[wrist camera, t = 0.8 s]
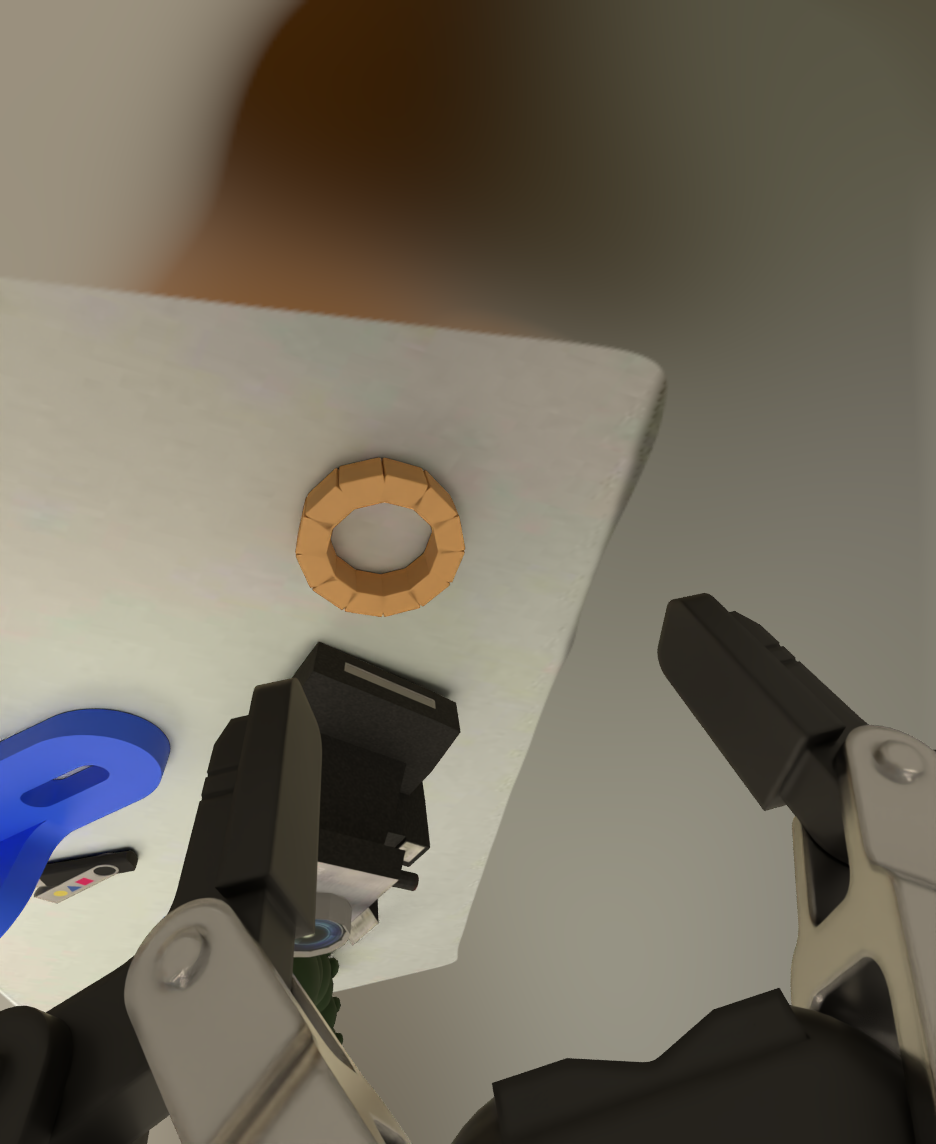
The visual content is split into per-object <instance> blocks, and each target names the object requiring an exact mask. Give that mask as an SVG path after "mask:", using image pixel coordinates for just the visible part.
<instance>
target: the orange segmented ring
mask: <svg viewBox="0 0 936 1144" xmlns="http://www.w3.org/2000/svg"><path fill="white" fill-rule="evenodd" d="M383 502H385V503H390V504H394V505H398V506H402V507H406V508H410V509H413V510H414V511H415V512H417V513H418V514H419V515H420V516H421V517H422V518H423V519H424V520H425V521H426V522H427V523H428V524H429V525H430V526H431V529H432V533H431V536H430V539H429V541H428V544H427V547H426V549H425V552H424V553H423V554H422V555H421V556H420V557H418V558H417V559H416V560H415V561H414V562H412V563H411V564H410V565H409V566H408V567H406V568H404V569H400V570H396V571H392V572H388V573H384V574H376V573H371V572H365V571H360V570H355V569H354V568H353V567H351V566H350V565H349V564H347V563H346V562H345V561H343V560H342V559H341V558H339V557H338V556H337V555H336V553H335V550H334V548H333V545H332V543H331V540H330V538H331V535H332V531H333V528H334V527H335V526H336V525H338V524H339V523H340V522H341V521H342V520H343V519H344V518H345V517H346V516H348V515H349V514H350V513H351V512H352V511H353V510H354V509H358V508H362V507H366V506H370V505H375V504H379V503H383ZM464 550H465V544H464V539H463V534H462V528H461V523H460V517H459V515H458V512H457V510H456V507H455V505H454V503H453V500H452V498H451V497H450V495H449V494H448V493H447V492H446V491H445V490H444V488H443V487H442V486H441V485H440V484H439V483H438V482H437V481H436V480H435V479H434V478H433V477H432V476H431V475H430V474H429V473H428V472H427V471H426V470H424V471H423V469H422V468H420V467H416V466H413V465H409V464H406V463H402V462H399V461H395V460H391V459H388V458H383V460H382V462H381V459H380V458H374V459H370V460H365V461H361V462H357V463H352V464H348V465H343V466H340V467H339V470H338V469H337V468H335V469H334V470H333V471H332V472H331V473H330V474H329V475H328V476H327V477H326V478H325V479H324V480H323V481H321V482H320V483H319V484H318V485H317V486H316V487H315V488H314V489H313V490H312V491H311V492H310V493H309V494H308V497H306V499H305V504H304V508H303V513H302V517H301V522H300V526H299V531H298V537H297V544H296V551H295V553H296V558H297V560H298V562H299V564H300V567H301V569H302V571H303V573H304V575H305V578H306V580H307V582H308V584H309V587H310V588H312V587H313V591H315V592H316V593H318V594H319V595H320V596H322V597H323V598H325V599H326V600H328V601H329V602H331V603H332V604H334V605H335V606H337V607H338V608H340V609H341V610H343V609H344V608H345V611H346V612H352V613H358V614H365V615H372V616H378V617H382V615H383V614H384V616H385V617H386V616H390V615H394V614H398V613H402V612H406V611H410V610H414V609H418V608H420V605H421V606H424V605H425V604H427V603H428V602H429V601H430V600H432V599H433V598H434V597H436V596H437V595H438V594H439V593H441V592H442V591H443V590H444V589H446V588H447V587H448V586H449V585H450V583H449V582H452V581H453V579H454V576H455V574H456V572H457V569H458V567H459V565H460V562H461V560H462V558H463V555H464V553H465V552H464Z"/></svg>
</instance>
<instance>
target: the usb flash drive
mask: <svg viewBox="0 0 936 1144" xmlns="http://www.w3.org/2000/svg"><path fill="white" fill-rule="evenodd" d="M137 862H138V858H137V856H136V854H135V853H134V852H133V851H124V852H118V853H104V854H101V855H99V856H94V857H88V858H82V859H76V860H70V861H64V862H58V863H52V864H46V866H45V868H44V871H43V873H42V875H41V877H40V879H39V881H38V883H37V885H36V887H38V889H37V890H36V892H35V894H34V897H36V898H39V899H43V900H46V901H50V902H54V903H59V902H61V901H63V900H65V899H67V898H69V897H71V896H73V895H75V894H77V893H79V892H81V891H83V890H85V889H87V888H89V887H91V886H93V885H95V884H97V883H99V882H101V881H103V880H105V879H107V878H109V877H111V876H113V875H115V874H118V873H124V872H129V871H134V870H135V868H136V865H137Z"/></svg>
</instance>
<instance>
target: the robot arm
mask: <svg viewBox="0 0 936 1144" xmlns="http://www.w3.org/2000/svg"><path fill="white" fill-rule="evenodd" d="M657 653H658V660H659V664H660V667H661V669H662V671H663V673H664V675H665V676H666V678H667V679H668V681H669V682H670V683H671V685H672V686H673V687H674V689H675V690H676V691H677V693H678V694H679V696H680V697H681V698H682V699H683V701H684V702H685V704H686V705H687V706H688V708H689V709H690V711H691V712H692V713H693V715H694V716H695V717H696V719H697V720H698V721H699V723H700V724H701V726H702V727H703V728H704V730H705V731H706V732H707V734H708V735H709V736H710V738H711V739H712V741H713V742H714V743H715V745H716V746H717V747H718V749H719V750H720V751H721V753H722V754H723V756H724V757H725V758H726V759H727V761H728V762H729V764H730V765H731V766H732V768H733V769H734V770H735V772H736V773H737V775H738V776H739V777H740V779H741V780H742V781H743V782H744V784H745V785H746V787H747V788H748V789H749V791H750V792H751V794H752V795H753V796H754V798H755V799H756V800H757V802H758V803H759V805H760V806H761V807H762V809H763V810H764V811H766V810H770V809H773V808H777V807H781V806H784V805H787V806H788V807H789V808H790V810H791V811H792V812H793V813H794V815H795V817H794V819H793V822H792V836H793V850H794V865H795V879H796V894H797V909H798V925H799V926H798V927H799V928H798V939H797V944H796V947H795V950H794V954H793V959H792V966H791V1004H792V1005H789V1003H788V1002H787V1000H786V998H785V997H784V995H783V993H782V991H781V990H780V988H777V989H774V990H771V991H768V992H765V993H762V994H759V995H756V996H753V997H750V998H747V999H744V1000H741V1001H738V1002H735V1003H732V1004H729V1005H726V1006H723V1007H720V1008H717V1009H714V1010H712V1011H711V1012H710V1013H709V1014H708V1015H707V1016H706V1017H704V1018H703V1019H702V1020H701V1021H700V1022H699V1023H698V1024H696V1025H695V1026H694V1027H693V1028H692V1029H691V1030H689V1031H688V1032H687V1033H686V1034H685V1035H684V1036H683V1037H681V1038H680V1039H679V1040H678V1041H677V1042H676V1043H675V1044H673V1045H672V1046H671V1047H670V1048H669V1049H668V1050H667V1051H665V1052H664V1053H663V1054H662V1055H661V1056H660V1057H658V1058H657V1059H656V1060H653V1061H650V1062H626V1061H608V1060H590V1059H572V1058H571V1059H570V1058H566V1059H563V1060H560V1061H557V1062H554V1063H552V1064H548V1065H545V1066H542V1067H539V1068H536V1069H533V1070H530V1071H527V1072H524V1073H521V1074H518V1075H515V1076H512V1077H509V1078H506V1079H503V1080H500V1081H497V1082H494V1083H492V1085H493V1092H494V1098H492V1099H491V1100H490V1101H489V1102H487V1104H485V1105H484V1106H483V1107H482V1108H480V1109H479V1110H478V1111H477V1112H476V1114H474V1115H473V1116H472V1118H471V1119H470V1120H469V1121H468V1122H467V1123H466V1124H465V1125H464V1127H463V1128H462V1129H461V1131H460V1132H459V1133H458V1135H457V1136H456V1138H455V1139H454V1140H453V1142H452V1143H451V1144H936V750H932V749H931V748H930V747H929V746H927V745H926V744H924V743H923V742H921V741H920V740H918V739H916V738H914V737H913V736H910V735H909V734H906V733H904V732H902V731H899V730H896V729H893V728H889V727H884V726H879V725H869V724H867V723H866V722H865V721H864V720H862V719H861V718H860V717H859V716H858V715H857V714H855V712H854V711H852V710H851V709H850V708H849V707H848V706H847V705H846V704H845V703H844V702H843V701H842V700H841V699H840V698H838V697H837V696H836V695H835V694H834V693H833V692H832V691H831V690H830V689H829V688H828V687H827V686H826V685H824V684H823V683H822V682H821V681H820V680H819V679H818V678H817V677H816V676H815V675H814V674H813V673H811V672H810V671H809V670H808V669H807V668H806V667H805V666H804V665H803V664H802V663H801V662H797V661H796V660H795V657H794V656H793V655H792V654H791V653H790V652H789V651H788V650H787V649H786V648H785V647H784V646H782V647H781V646H780V645H779V642H778V641H777V640H776V639H775V638H774V637H773V636H772V635H771V634H770V633H768V632H767V631H766V630H765V629H764V628H763V627H762V626H761V625H760V624H758V623H756V622H754V621H752V620H751V619H749V618H747V617H745V616H743V615H741V614H739V613H737V612H736V611H733V612H728V611H727V610H726V609H725V608H724V607H723V606H722V605H721V604H720V603H719V602H718V601H717V600H716V599H715V598H714V597H713V596H711V595H710V594H707V593H702V594H697V595H692V596H687V597H683V598H678V599H673V600H671V601H670V602H669V603H668V605H667V609H666V613H665V618H664V622H663V626H662V631H661V635H660V640H659V644H658V652H657ZM321 767H322V743H321V735H320V731H319V727H318V724H317V721H316V719H315V716H314V714H313V712H312V709H311V707H310V705H309V702H308V700H307V698H306V695H305V693H304V691H303V688H302V686H301V684H300V682H299V680H298V679H297V678H291V679H286V680H281V681H277V682H272V683H267V684H262V685H257V686H256V687H255V689H254V691H253V696H252V701H251V706H250V711H249V715H247V716H243V717H238V718H233V719H231V720H230V722H229V723H228V725H227V726H226V728H225V729H224V731H223V732H222V734H221V735H220V737H219V738H218V740H217V741H216V743H215V744H214V747H213V751H212V755H211V759H210V763H209V767H208V771H207V773H208V777H206V778H205V782H204V786H203V790H202V794H201V796H202V801H200V802H199V806H198V810H197V814H196V818H195V822H194V826H193V830H192V833H191V837H190V841H189V845H188V849H187V853H186V857H185V861H184V865H183V869H182V873H181V877H180V881H179V885H178V888H177V892H176V895H175V898H174V901H173V904H172V906H171V908H170V910H169V912H168V914H167V916H165V917H164V918H163V919H162V920H161V921H160V922H159V923H158V924H157V925H156V926H155V927H154V928H153V929H152V930H151V932H150V933H149V934H148V935H147V936H146V938H145V939H144V941H143V942H142V944H141V945H140V947H139V948H138V950H137V952H136V954H135V955H134V956H133V957H132V958H131V959H129V960H128V961H127V962H126V963H124V964H123V965H122V966H120V967H119V968H117V969H116V970H114V971H113V972H111V973H109V974H108V975H106V976H104V977H103V978H101V979H100V980H98V981H96V982H95V983H93V984H91V985H90V986H88V987H87V988H85V989H83V990H82V991H80V992H78V993H77V994H75V995H73V996H72V997H70V998H69V999H67V1000H65V1001H64V1002H62V1003H60V1004H59V1005H57V1006H56V1007H54V1008H52V1009H51V1010H49V1011H47V1012H46V1013H45V1012H43V1011H41V1010H38V1009H36V1008H33V1007H29V1006H16V1007H12V1008H8V1009H5V1010H2V1011H0V1144H147V1140H148V1135H149V1130H150V1129H151V1128H153V1127H154V1126H155V1125H157V1124H158V1123H159V1122H161V1121H162V1120H163V1119H165V1118H166V1117H167V1116H168V1115H170V1117H171V1119H172V1122H173V1124H174V1126H175V1129H176V1131H177V1134H178V1136H179V1139H180V1141H181V1143H182V1144H412V1143H411V1141H410V1140H409V1138H408V1137H407V1135H406V1134H405V1132H404V1131H403V1129H402V1128H401V1127H400V1125H399V1124H398V1122H397V1121H396V1119H395V1118H394V1116H393V1115H392V1113H391V1112H390V1111H389V1109H388V1108H387V1106H386V1105H385V1104H384V1102H383V1101H382V1100H381V1098H380V1097H379V1096H378V1094H377V1093H376V1092H375V1090H374V1089H373V1088H372V1086H371V1085H370V1084H369V1083H368V1082H367V1080H366V1079H365V1078H364V1077H363V1075H362V1074H361V1072H360V1071H359V1069H358V1068H357V1067H356V1065H355V1064H354V1062H353V1061H352V1060H351V1058H350V1056H349V1055H348V1053H347V1052H346V1051H345V1049H344V1048H343V1046H342V1045H341V1043H340V1042H339V1040H338V1039H337V1037H336V1036H335V1034H334V1033H333V1031H332V1030H331V1028H330V1027H329V1025H328V1024H327V1023H326V1021H325V1020H324V1018H323V1017H322V1015H321V1014H320V1012H319V1011H318V1009H317V1008H316V1006H315V1005H314V1003H313V1002H312V1000H311V999H310V998H309V996H308V995H307V993H306V992H305V990H304V989H303V987H302V986H301V984H300V983H299V981H298V980H297V978H296V977H295V975H294V974H293V957H294V943H295V939H297V938H300V937H304V936H308V935H311V934H315V914H316V890H317V865H318V841H319V816H320V792H321Z"/></svg>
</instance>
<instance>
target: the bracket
mask: <svg viewBox="0 0 936 1144" xmlns="http://www.w3.org/2000/svg"><path fill="white" fill-rule="evenodd" d="M169 754H170V744H169V741H168V739H167V737H166V736H165V734H164V733H163V732H162V731H161V730H160V729H159V728H158V727H156V726H155V725H153V724H152V723H150V722H149V721H147V720H145V719H142V718H140V717H138V716H135V715H132V714H128V713H124V712H120V711H114V710H105V709H84V710H76V711H70V712H66V713H62V714H59V715H56V716H54V717H51V718H49V719H47V720H45V721H43V722H41V723H39V724H37V725H35V726H33V727H31V728H28V729H26V730H24V731H22V732H20V733H18V734H16V735H14V736H12V737H10V738H8V739H6V740H3V741H1V742H0V938H1V937H2V936H3V935H4V933H5V932H6V931H7V930H8V929H9V928H10V926H11V925H12V924H13V923H14V921H15V920H16V919H17V917H18V916H19V914H20V913H21V912H22V910H23V909H24V907H25V905H26V904H27V902H28V901H29V899H30V897H31V895H32V893H33V891H34V889H35V887H36V885H37V883H38V881H39V879H40V877H41V875H42V873H43V871H44V868H45V866H46V864H47V862H48V860H49V858H50V856H51V854H52V852H53V850H54V849H55V848H56V846H57V845H58V844H59V843H60V841H61V840H62V839H63V838H64V837H65V836H67V835H68V834H69V833H70V832H72V831H74V830H76V829H78V828H80V827H82V826H84V825H87V824H89V823H91V822H93V821H95V820H97V819H100V818H102V817H104V816H106V815H108V814H110V813H113V812H115V811H117V810H119V809H121V808H123V807H126V806H128V805H130V804H132V803H134V802H137V801H139V800H141V799H143V798H145V797H146V796H148V795H149V794H151V793H152V792H153V791H154V790H155V789H156V788H157V786H158V785H159V783H160V781H161V778H162V775H163V772H164V769H165V766H166V763H167V760H168V757H169ZM85 765H93V766H91V767H89V768H87V769H85V770H82V771H80V772H78V773H76V774H74V775H72V776H70V777H68V778H65V779H61V780H52V779H54V778H56V777H59V776H61V775H63V774H65V773H67V772H69V771H71V770H74V769H76V768H78V767H80V766H85Z"/></svg>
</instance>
